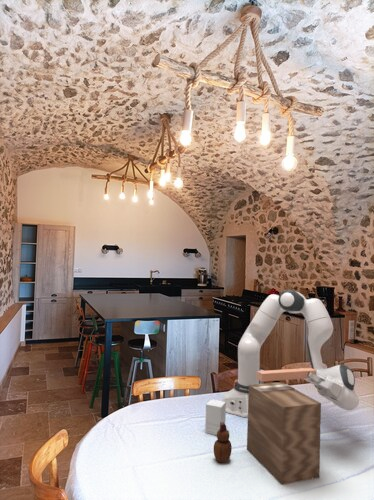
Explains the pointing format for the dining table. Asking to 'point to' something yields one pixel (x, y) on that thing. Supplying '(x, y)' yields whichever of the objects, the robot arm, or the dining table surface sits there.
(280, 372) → the terracotta bar
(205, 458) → the dining table surface
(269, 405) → the walnut pedestal
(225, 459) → the wooden figurine
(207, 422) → the supplement box
